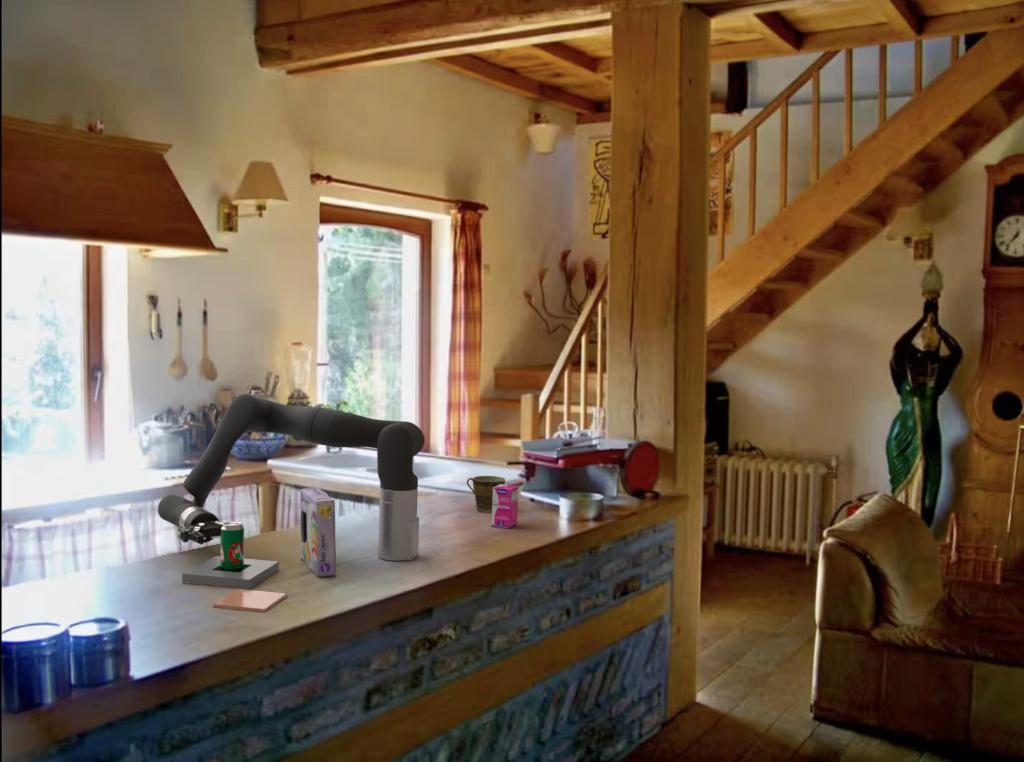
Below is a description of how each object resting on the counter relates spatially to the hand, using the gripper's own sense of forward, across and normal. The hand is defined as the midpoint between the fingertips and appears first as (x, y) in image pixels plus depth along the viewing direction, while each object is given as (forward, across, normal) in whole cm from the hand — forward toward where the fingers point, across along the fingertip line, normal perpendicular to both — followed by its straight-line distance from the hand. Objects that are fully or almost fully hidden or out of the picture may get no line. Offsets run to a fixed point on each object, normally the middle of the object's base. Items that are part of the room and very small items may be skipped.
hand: (220, 538), depth 228 cm
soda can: (+8, 0, +7) cm, 11 cm away
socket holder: (+8, 0, +7) cm, 11 cm away
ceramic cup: (-28, +90, +7) cm, 95 cm away
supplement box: (-7, +84, +7) cm, 85 cm away
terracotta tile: (+28, -3, +7) cm, 29 cm away
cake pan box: (+9, +20, +7) cm, 23 cm away
